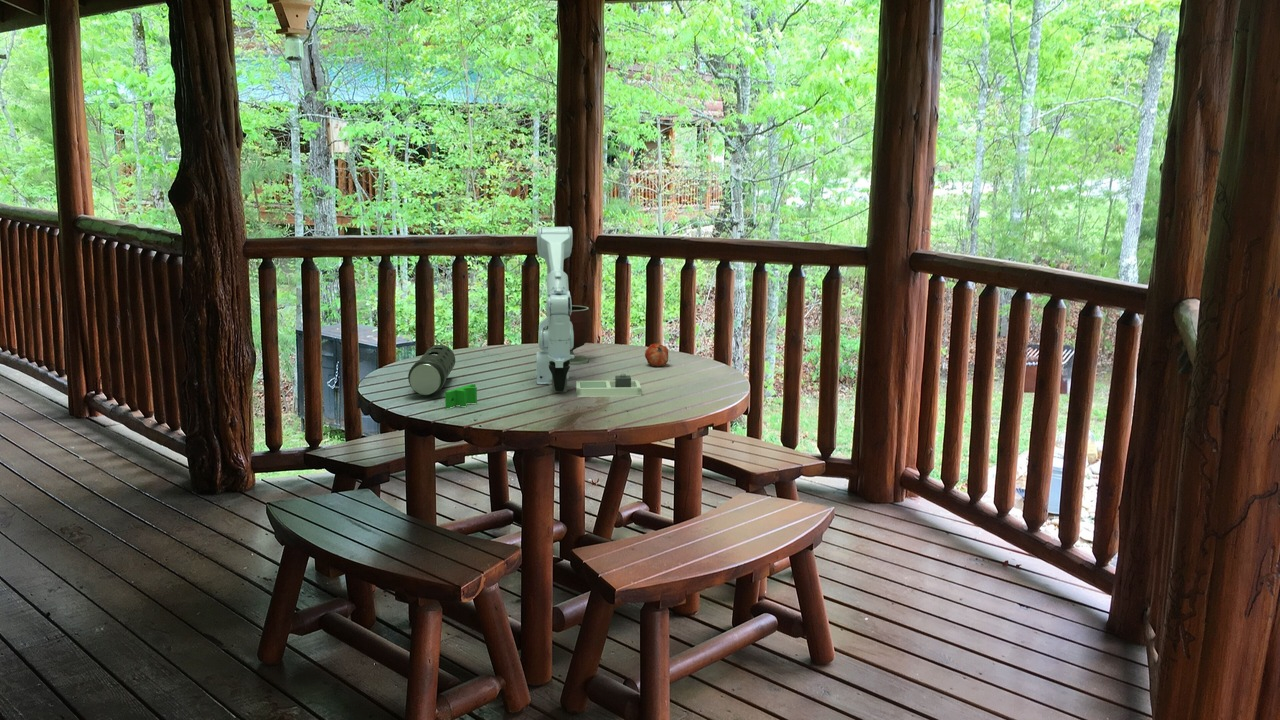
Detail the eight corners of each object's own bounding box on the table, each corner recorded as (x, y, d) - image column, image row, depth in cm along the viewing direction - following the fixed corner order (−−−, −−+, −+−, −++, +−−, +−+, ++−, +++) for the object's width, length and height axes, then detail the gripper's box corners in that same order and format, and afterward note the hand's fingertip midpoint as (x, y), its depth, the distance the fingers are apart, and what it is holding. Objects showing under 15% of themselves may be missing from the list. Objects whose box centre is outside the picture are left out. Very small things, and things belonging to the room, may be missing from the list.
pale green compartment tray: (576, 401, 255) (576, 389, 254) (576, 391, 265) (576, 380, 265) (641, 400, 256) (641, 388, 255) (638, 391, 267) (638, 379, 266)
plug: (616, 393, 259) (616, 375, 258) (615, 390, 263) (615, 372, 262) (631, 393, 259) (631, 375, 258) (630, 389, 263) (630, 372, 262)
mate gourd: (578, 355, 319) (577, 295, 315) (598, 362, 307) (598, 300, 303) (535, 360, 311) (534, 298, 307) (554, 367, 299) (553, 303, 295)
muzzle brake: (457, 378, 283) (455, 343, 281) (444, 400, 255) (442, 361, 253) (423, 378, 282) (422, 343, 280) (407, 400, 255) (405, 361, 253)
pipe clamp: (457, 411, 244) (456, 393, 243) (445, 409, 246) (444, 391, 245) (484, 401, 254) (483, 384, 253) (472, 400, 256) (471, 383, 255)
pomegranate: (642, 371, 305) (645, 357, 296) (644, 351, 309) (647, 336, 300) (665, 374, 306) (669, 359, 297) (667, 353, 309) (671, 338, 300)
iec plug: (552, 396, 260) (551, 372, 258) (552, 393, 264) (552, 369, 262) (567, 396, 260) (566, 372, 259) (567, 393, 264) (566, 369, 263)
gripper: (574, 343, 252) (574, 394, 255) (573, 334, 266) (574, 383, 269) (547, 343, 252) (547, 395, 254) (548, 334, 266) (548, 383, 268)
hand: (559, 389), depth 261 cm, fingers closed on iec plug, 4 cm apart
